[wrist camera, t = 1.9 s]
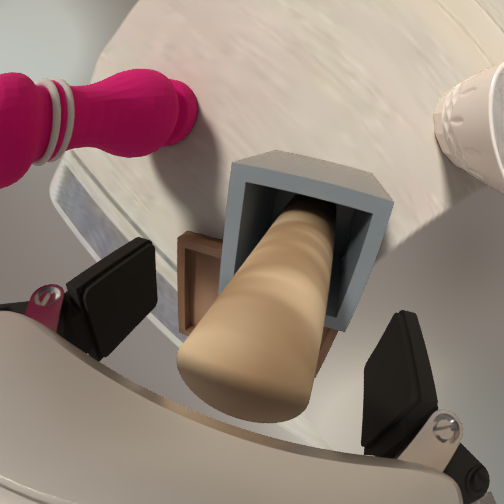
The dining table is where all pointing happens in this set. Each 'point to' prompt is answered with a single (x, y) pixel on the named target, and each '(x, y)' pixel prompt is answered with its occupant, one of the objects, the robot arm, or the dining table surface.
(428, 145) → the dining table surface
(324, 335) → the tray
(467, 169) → the white cup
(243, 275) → the dowel
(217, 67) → the dining table surface
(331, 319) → the grey hollow box
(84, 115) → the pepper mill
